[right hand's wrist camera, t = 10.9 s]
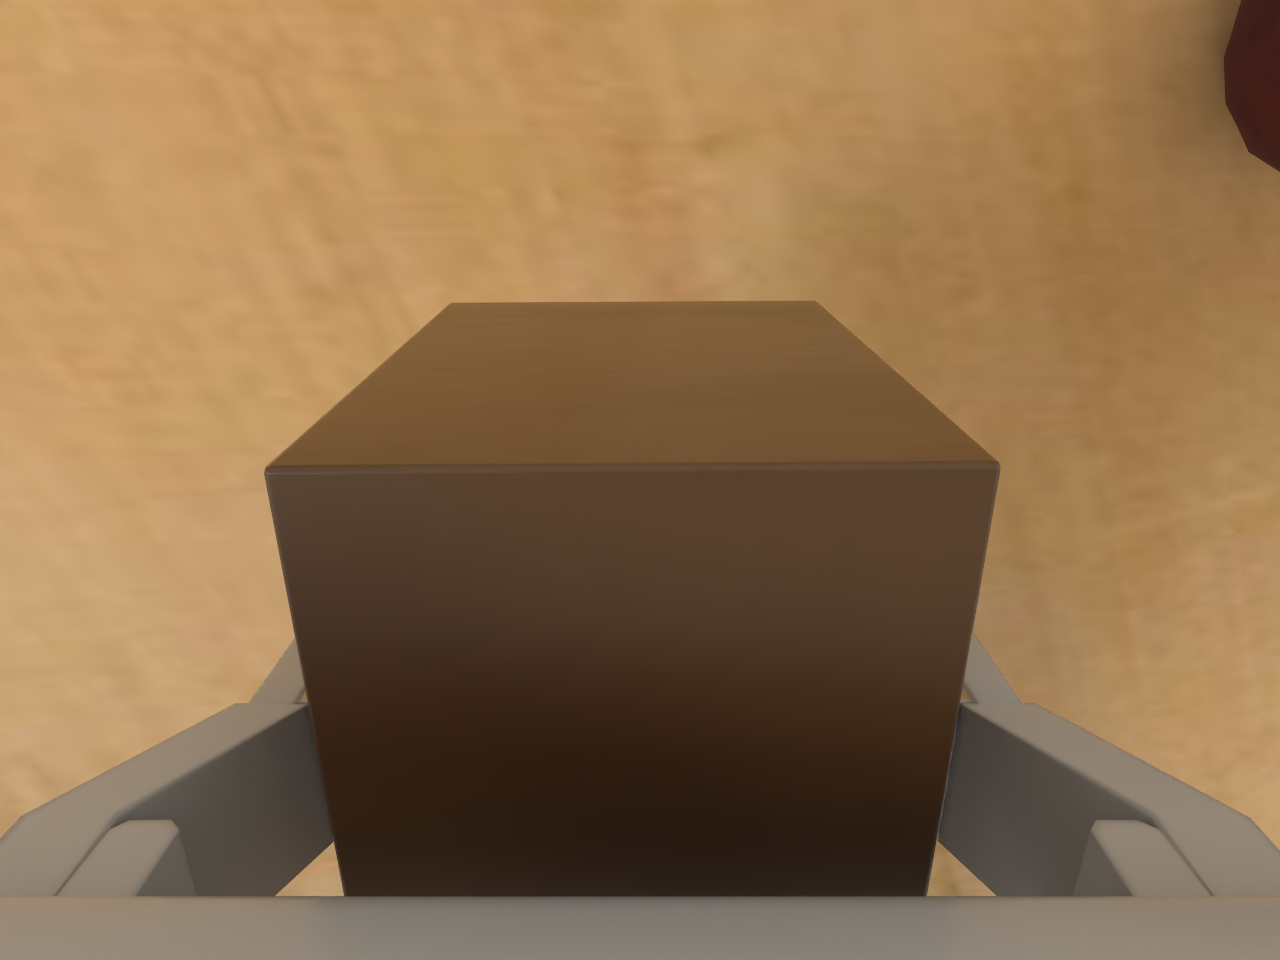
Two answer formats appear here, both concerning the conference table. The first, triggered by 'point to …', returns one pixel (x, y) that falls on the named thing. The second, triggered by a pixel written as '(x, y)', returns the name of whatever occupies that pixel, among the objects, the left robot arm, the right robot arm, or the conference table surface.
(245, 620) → the conference table surface
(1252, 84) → the potato
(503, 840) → the post
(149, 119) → the conference table surface
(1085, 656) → the conference table surface
